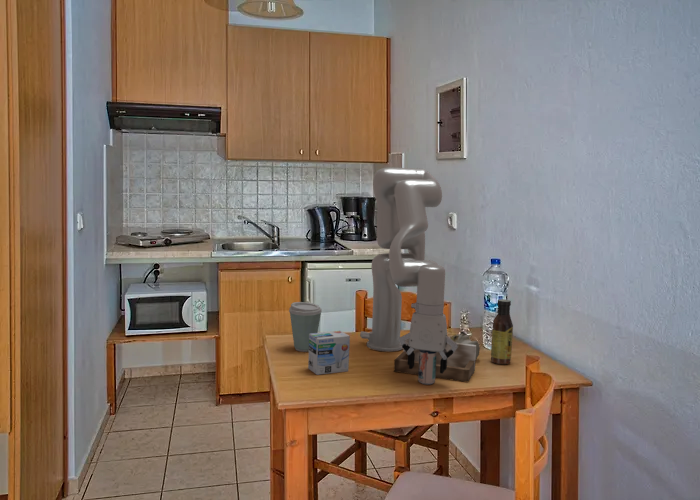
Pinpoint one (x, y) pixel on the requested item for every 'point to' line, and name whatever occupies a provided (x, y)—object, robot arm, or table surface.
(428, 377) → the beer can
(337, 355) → the light bulb box
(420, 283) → the robot arm
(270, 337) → the table surface
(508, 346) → the sauce bottle
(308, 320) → the disposable coffee cup
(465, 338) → the ceramic sculpture
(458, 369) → the wooden tray
